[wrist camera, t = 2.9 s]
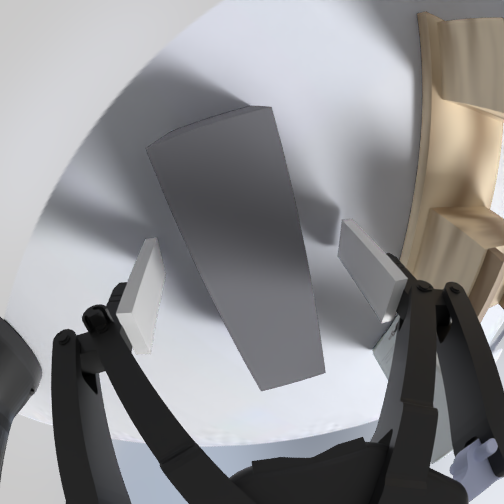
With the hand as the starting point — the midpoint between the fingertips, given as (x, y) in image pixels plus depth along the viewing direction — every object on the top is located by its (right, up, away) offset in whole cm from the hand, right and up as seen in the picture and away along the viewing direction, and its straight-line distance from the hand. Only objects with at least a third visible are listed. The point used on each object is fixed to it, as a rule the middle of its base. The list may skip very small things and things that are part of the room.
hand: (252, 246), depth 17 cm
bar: (0, +1, +1) cm, 1 cm away
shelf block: (+16, +7, -1) cm, 18 cm away
